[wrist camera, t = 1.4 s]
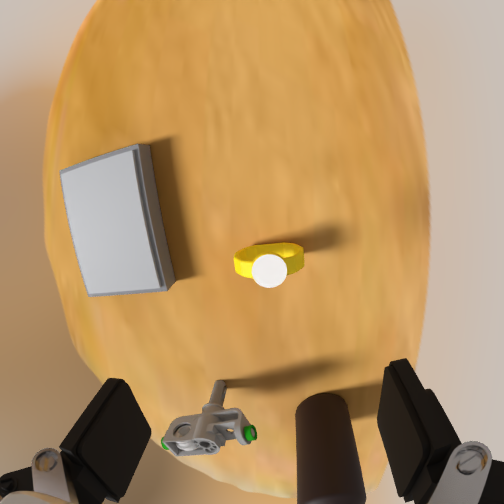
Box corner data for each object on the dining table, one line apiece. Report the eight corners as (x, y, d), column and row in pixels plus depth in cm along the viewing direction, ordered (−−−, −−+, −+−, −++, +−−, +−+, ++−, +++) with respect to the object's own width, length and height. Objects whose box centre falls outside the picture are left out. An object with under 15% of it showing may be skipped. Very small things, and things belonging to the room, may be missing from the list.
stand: (73, 169, 27) (57, 171, 24) (149, 145, 26) (136, 143, 23) (100, 288, 31) (86, 298, 28) (175, 281, 30) (165, 292, 27)
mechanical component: (264, 383, 33) (259, 448, 23) (191, 399, 34) (170, 457, 25) (254, 365, 32) (246, 431, 22) (180, 383, 34) (155, 441, 24)
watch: (298, 232, 28) (309, 249, 22) (300, 261, 28) (311, 283, 23) (235, 239, 28) (229, 257, 22) (238, 267, 29) (234, 291, 23)
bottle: (334, 428, 34) (350, 553, 15) (288, 422, 34) (286, 555, 15) (355, 395, 32) (387, 533, 13) (305, 388, 32) (315, 539, 13)
